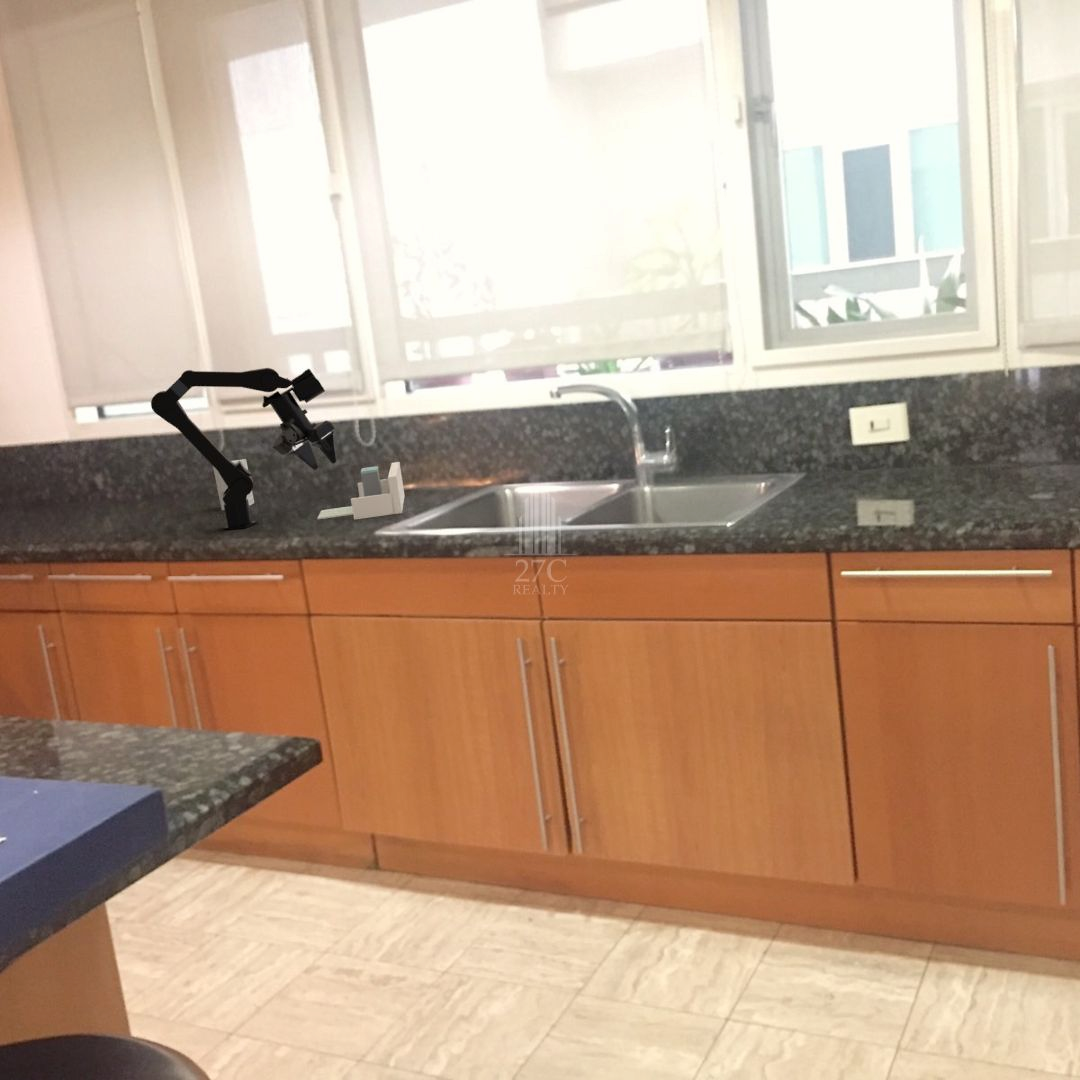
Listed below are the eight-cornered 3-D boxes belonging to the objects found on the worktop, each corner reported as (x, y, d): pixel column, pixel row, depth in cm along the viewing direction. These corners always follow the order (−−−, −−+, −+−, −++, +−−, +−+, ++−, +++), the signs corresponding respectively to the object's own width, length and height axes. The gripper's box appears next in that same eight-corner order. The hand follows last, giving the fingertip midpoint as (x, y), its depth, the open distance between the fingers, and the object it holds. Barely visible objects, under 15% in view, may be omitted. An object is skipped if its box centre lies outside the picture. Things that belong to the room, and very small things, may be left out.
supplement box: (255, 502, 333) (247, 458, 330) (246, 508, 325) (238, 462, 323) (230, 505, 334) (221, 461, 331) (220, 510, 326) (212, 465, 324)
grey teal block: (366, 511, 295) (360, 471, 293) (368, 507, 301) (362, 468, 299) (382, 508, 295) (376, 469, 293) (384, 504, 301) (377, 466, 299)
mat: (317, 519, 292) (317, 518, 292) (321, 511, 303) (321, 510, 303) (358, 513, 293) (357, 512, 292) (360, 506, 303) (360, 504, 303)
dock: (354, 519, 285) (348, 482, 283) (360, 501, 311) (355, 467, 309) (401, 512, 286) (396, 476, 284) (404, 495, 311) (399, 461, 309)
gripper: (249, 437, 297) (285, 489, 301) (284, 421, 283) (321, 476, 287) (281, 415, 303) (315, 466, 308) (317, 398, 289) (352, 452, 293)
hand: (325, 466), depth 299 cm, fingers open, 9 cm apart
